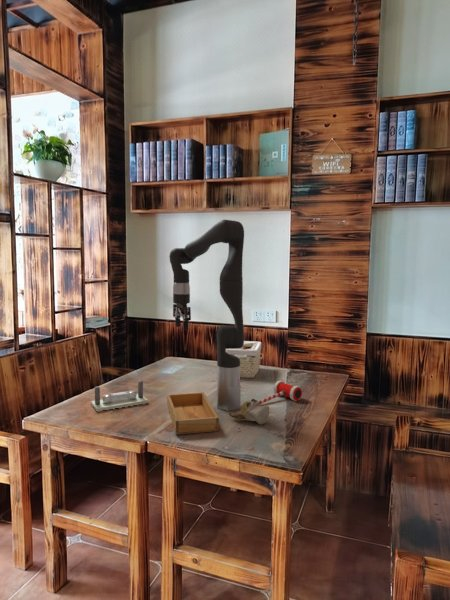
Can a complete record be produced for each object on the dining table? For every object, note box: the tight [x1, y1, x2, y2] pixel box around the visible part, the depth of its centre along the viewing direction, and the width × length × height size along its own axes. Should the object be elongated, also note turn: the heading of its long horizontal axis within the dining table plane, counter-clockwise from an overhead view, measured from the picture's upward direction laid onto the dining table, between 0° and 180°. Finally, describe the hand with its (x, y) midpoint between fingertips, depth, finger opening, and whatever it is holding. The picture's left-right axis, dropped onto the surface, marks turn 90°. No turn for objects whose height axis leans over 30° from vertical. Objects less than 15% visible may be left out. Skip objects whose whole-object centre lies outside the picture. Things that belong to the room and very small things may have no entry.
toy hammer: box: [257, 380, 303, 405], centre depth 193 cm, size 23×12×6 cm, turn 129°
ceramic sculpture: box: [228, 398, 270, 425], centre depth 170 cm, size 11×9×15 cm
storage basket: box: [225, 340, 262, 379], centre depth 237 cm, size 24×16×15 cm
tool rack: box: [90, 379, 149, 412], centre depth 188 cm, size 21×10×8 cm, turn 119°
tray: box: [166, 391, 220, 436], centre depth 173 cm, size 31×15×6 cm, turn 13°
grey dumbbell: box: [101, 390, 137, 404], centre depth 188 cm, size 14×4×3 cm, turn 119°
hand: (181, 328), depth 207 cm, fingers open, 8 cm apart
